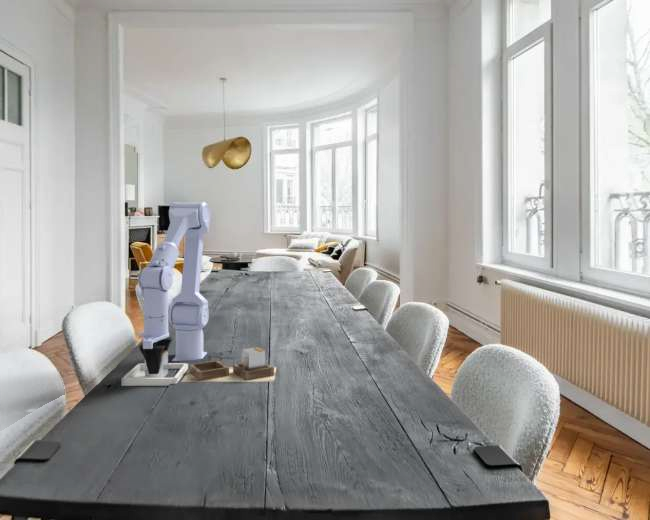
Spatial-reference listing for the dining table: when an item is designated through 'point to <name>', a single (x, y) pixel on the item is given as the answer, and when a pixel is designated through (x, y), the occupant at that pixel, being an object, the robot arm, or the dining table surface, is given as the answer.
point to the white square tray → (138, 378)
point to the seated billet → (253, 359)
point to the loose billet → (163, 367)
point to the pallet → (229, 378)
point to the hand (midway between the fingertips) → (156, 370)
